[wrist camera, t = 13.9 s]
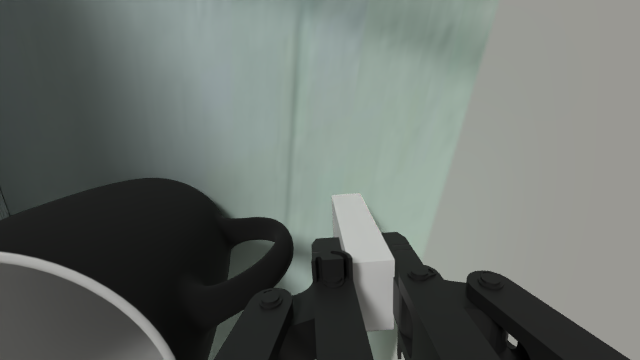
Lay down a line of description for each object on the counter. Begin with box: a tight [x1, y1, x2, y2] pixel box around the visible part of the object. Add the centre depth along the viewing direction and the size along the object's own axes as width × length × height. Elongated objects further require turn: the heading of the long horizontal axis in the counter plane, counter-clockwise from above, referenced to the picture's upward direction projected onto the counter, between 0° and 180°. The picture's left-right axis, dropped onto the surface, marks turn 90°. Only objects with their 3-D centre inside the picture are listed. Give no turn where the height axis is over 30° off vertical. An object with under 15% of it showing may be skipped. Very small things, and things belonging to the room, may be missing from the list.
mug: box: [0, 178, 294, 360], centre depth 13 cm, size 12×9×10 cm
